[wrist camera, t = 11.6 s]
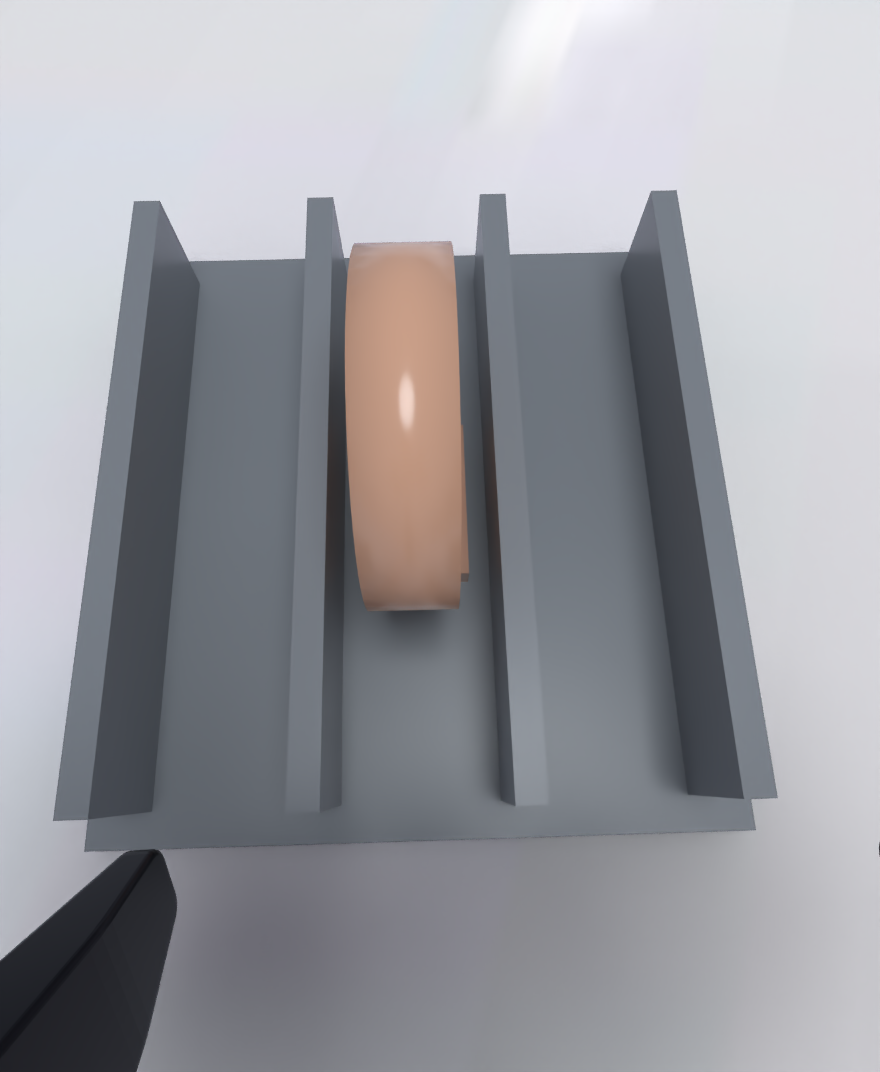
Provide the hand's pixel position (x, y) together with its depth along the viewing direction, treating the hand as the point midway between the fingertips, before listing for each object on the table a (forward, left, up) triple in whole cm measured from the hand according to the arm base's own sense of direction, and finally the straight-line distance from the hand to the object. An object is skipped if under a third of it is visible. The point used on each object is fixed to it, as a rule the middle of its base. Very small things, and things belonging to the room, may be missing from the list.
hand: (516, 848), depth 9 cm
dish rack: (+3, +9, -13) cm, 16 cm away
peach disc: (+3, +9, -12) cm, 15 cm away
